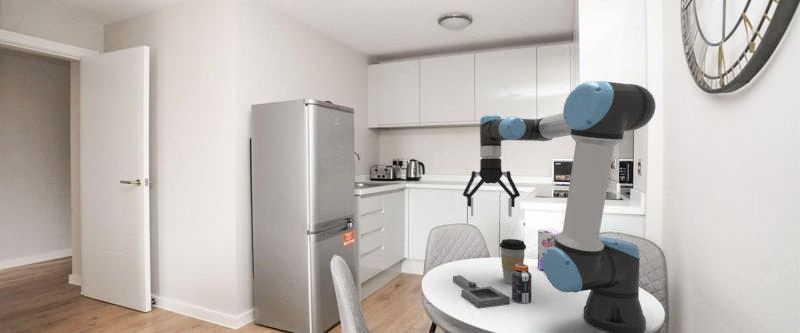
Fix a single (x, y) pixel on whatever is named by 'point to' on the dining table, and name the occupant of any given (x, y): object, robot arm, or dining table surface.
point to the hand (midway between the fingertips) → (490, 215)
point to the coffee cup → (511, 257)
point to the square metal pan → (480, 293)
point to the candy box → (545, 243)
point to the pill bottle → (521, 284)
